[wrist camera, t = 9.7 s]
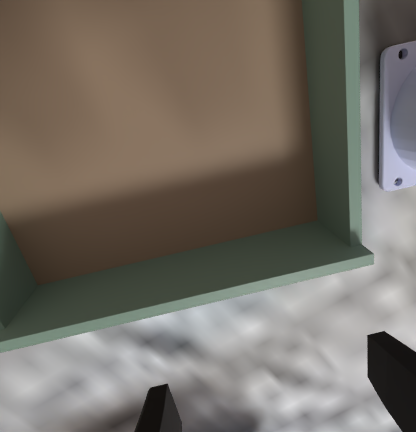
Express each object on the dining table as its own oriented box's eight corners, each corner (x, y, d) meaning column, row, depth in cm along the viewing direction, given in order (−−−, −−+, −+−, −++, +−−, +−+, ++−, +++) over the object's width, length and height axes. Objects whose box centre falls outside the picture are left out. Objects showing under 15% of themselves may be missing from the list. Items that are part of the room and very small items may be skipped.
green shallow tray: (303, -129, 13) (376, -261, 8) (325, 225, 19) (373, 264, 14) (-137, -38, 12) (-324, -123, 8) (33, 293, 19) (-14, 356, 14)
